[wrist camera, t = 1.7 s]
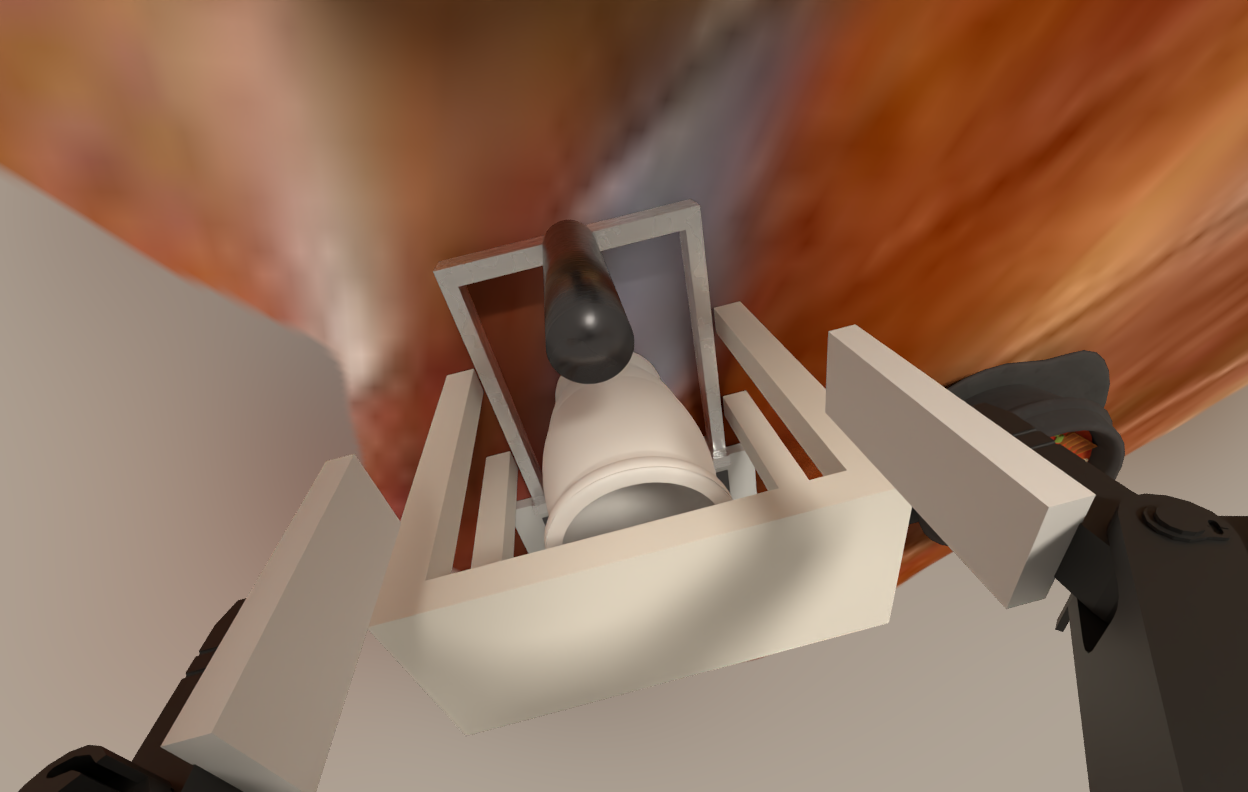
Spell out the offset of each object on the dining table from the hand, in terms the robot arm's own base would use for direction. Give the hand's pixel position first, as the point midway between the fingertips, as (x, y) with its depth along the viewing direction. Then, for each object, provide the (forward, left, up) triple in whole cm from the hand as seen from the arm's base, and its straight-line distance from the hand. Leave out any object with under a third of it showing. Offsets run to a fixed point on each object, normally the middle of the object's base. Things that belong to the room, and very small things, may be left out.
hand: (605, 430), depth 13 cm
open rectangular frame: (+18, 0, -21) cm, 28 cm away
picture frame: (+9, 0, -20) cm, 22 cm away
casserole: (+27, +32, -21) cm, 47 cm away
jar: (+12, 0, -21) cm, 24 cm away
